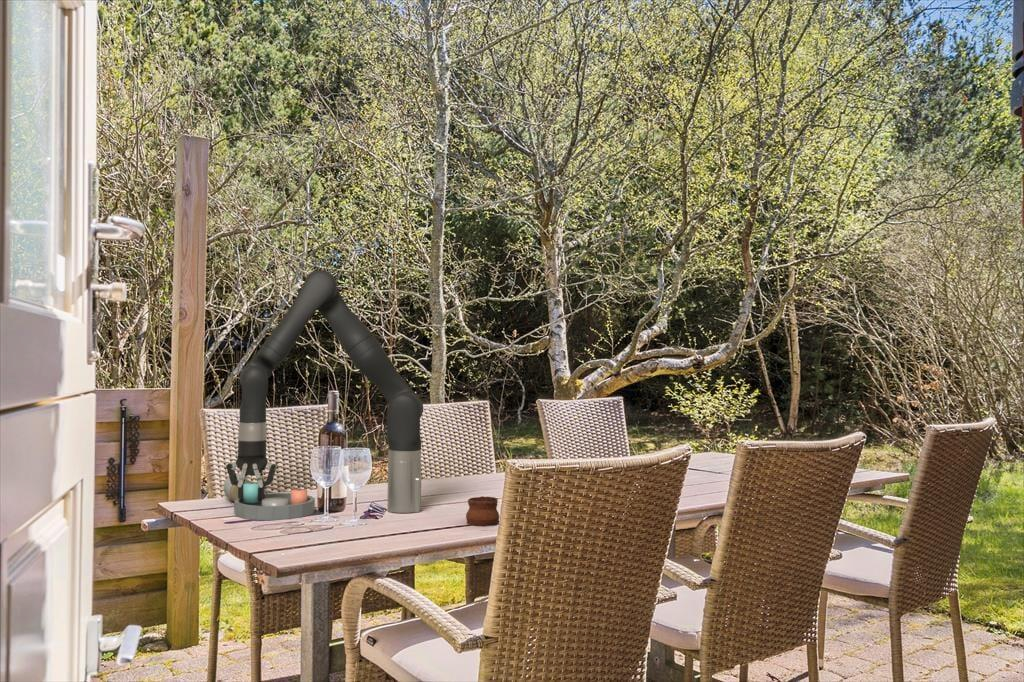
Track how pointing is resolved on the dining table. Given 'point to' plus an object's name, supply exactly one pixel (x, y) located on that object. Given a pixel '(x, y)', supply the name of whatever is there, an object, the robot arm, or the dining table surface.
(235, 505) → the groove tray
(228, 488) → the ceramic mug
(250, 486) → the teal cylinder
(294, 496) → the brick bead
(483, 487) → the dining table surface
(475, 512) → the ceramic pot
